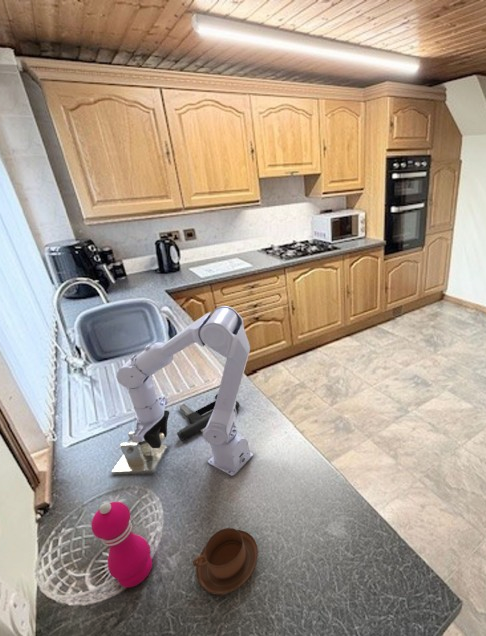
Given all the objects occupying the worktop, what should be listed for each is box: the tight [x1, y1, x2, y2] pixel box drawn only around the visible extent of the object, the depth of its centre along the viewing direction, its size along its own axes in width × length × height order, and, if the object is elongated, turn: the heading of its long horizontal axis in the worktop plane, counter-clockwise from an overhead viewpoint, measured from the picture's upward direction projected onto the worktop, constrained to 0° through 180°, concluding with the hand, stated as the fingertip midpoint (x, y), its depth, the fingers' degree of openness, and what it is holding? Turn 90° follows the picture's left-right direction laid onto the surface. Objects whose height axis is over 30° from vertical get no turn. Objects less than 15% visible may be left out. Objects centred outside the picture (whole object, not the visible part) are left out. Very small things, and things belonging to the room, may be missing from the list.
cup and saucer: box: [192, 527, 259, 595], centre depth 69 cm, size 12×12×6 cm
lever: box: [126, 431, 166, 447], centre depth 92 cm, size 10×3×3 cm, turn 89°
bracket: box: [111, 430, 169, 475], centre depth 94 cm, size 11×9×8 cm
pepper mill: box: [91, 501, 153, 589], centre depth 66 cm, size 7×7×20 cm
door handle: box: [176, 393, 241, 441], centre depth 111 cm, size 3×20×16 cm
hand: (159, 441), depth 93 cm, fingers closed on lever, 3 cm apart
